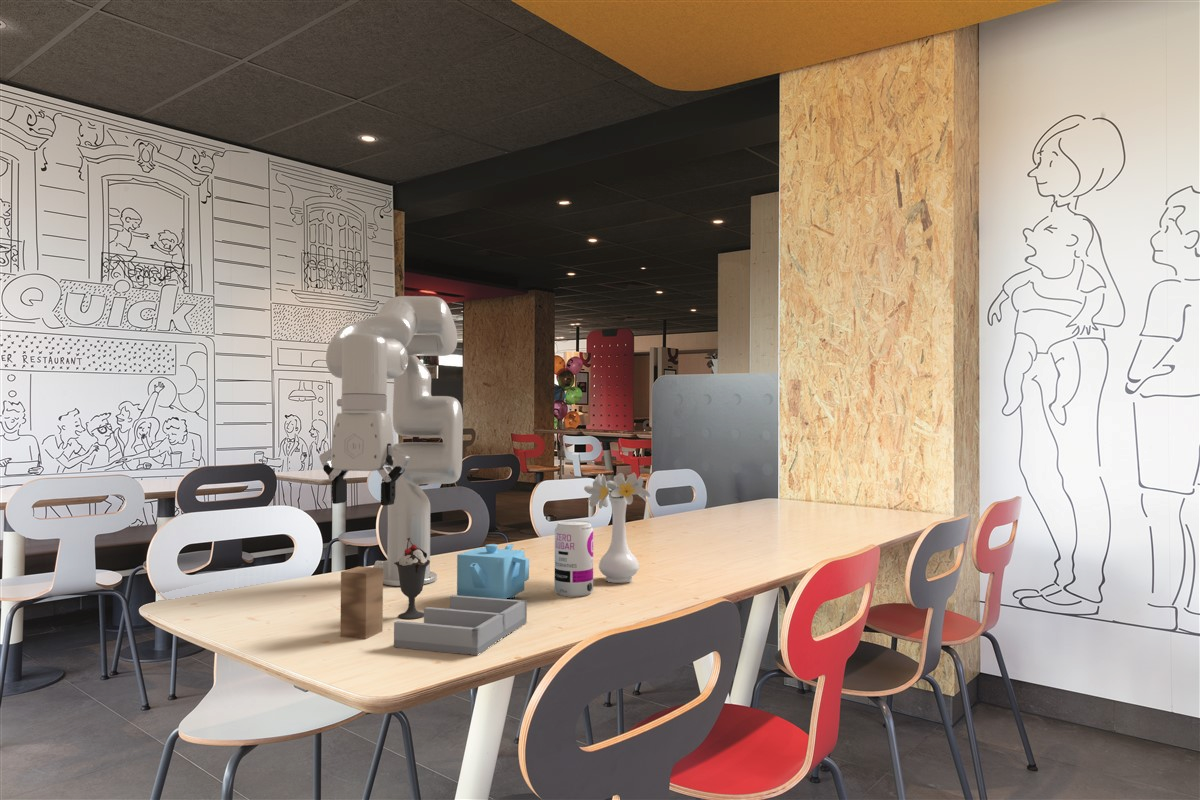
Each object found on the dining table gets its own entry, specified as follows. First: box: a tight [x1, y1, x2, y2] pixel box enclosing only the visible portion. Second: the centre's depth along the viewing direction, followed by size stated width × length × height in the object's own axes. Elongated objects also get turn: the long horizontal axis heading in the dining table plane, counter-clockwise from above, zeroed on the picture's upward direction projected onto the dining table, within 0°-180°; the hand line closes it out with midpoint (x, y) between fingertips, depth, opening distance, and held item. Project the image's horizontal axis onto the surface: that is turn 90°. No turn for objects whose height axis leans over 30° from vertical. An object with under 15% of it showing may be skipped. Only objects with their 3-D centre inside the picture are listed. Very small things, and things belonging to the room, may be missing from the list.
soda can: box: [554, 520, 594, 598], centre depth 162 cm, size 8×8×15 cm
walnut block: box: [339, 566, 384, 640], centre depth 131 cm, size 5×5×11 cm
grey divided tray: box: [393, 594, 528, 656], centre depth 131 cm, size 15×20×4 cm
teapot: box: [456, 543, 530, 599], centre depth 157 cm, size 16×18×11 cm
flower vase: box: [583, 472, 651, 584], centre depth 175 cm, size 13×18×25 cm
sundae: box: [394, 538, 431, 620], centre depth 143 cm, size 7×7×15 cm
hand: (363, 503), depth 132 cm, fingers open, 9 cm apart
